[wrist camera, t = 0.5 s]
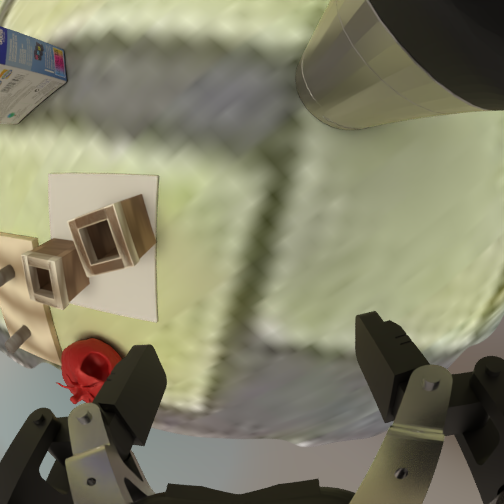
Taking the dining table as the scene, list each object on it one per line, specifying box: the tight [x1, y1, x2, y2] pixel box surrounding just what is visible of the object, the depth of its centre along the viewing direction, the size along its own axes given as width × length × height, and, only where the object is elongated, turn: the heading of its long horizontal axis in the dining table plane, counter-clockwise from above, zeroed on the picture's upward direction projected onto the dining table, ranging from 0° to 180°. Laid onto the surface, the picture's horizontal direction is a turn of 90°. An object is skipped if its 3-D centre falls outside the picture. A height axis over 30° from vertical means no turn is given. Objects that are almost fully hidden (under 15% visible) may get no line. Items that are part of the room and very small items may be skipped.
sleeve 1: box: [21, 238, 90, 310], centre depth 24 cm, size 5×5×6 cm
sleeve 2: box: [67, 194, 157, 277], centre depth 23 cm, size 5×5×6 cm
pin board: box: [0, 232, 62, 366], centre depth 27 cm, size 20×12×6 cm, turn 173°
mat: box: [48, 173, 159, 322], centre depth 27 cm, size 16×14×1 cm
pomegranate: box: [58, 338, 122, 404], centre depth 28 cm, size 10×10×9 cm
